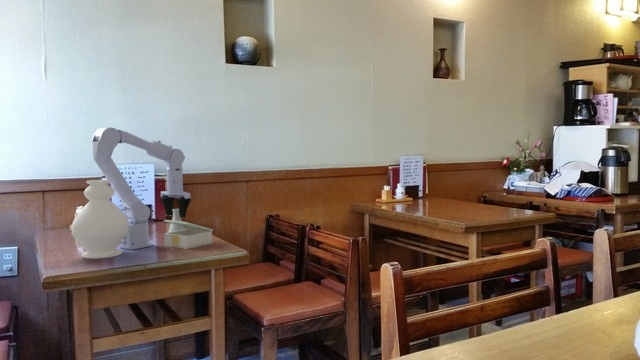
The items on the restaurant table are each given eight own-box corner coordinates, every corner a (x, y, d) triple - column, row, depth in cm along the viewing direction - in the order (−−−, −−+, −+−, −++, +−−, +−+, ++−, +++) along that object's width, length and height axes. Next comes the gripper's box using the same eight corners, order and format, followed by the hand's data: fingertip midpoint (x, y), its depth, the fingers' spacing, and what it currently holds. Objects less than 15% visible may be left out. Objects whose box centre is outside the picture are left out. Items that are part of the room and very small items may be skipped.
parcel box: (186, 249, 182) (186, 236, 182) (164, 245, 189) (163, 233, 189) (212, 243, 192) (211, 231, 192) (190, 240, 199) (189, 228, 199)
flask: (175, 235, 210) (174, 210, 209) (164, 233, 214) (163, 209, 214) (190, 232, 216) (189, 208, 215) (179, 231, 220) (178, 207, 219)
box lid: (187, 223, 182) (187, 221, 182) (164, 221, 189) (164, 219, 189) (212, 231, 192) (212, 229, 192) (189, 228, 199) (189, 226, 199)
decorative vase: (113, 247, 188) (110, 177, 186) (140, 253, 177) (137, 179, 175) (63, 255, 174) (59, 181, 172) (89, 263, 163) (85, 183, 161)
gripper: (196, 180, 195) (197, 216, 196) (170, 179, 203) (171, 214, 204) (181, 181, 189) (182, 218, 190) (155, 180, 197) (156, 216, 198)
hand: (175, 216), depth 197 cm, fingers open, 7 cm apart
